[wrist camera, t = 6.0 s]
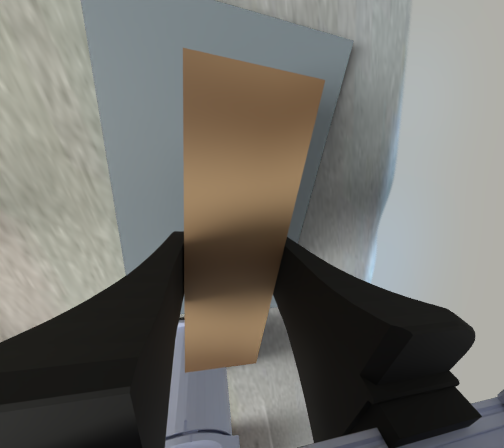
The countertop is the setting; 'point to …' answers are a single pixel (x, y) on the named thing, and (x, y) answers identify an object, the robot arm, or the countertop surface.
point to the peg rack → (171, 99)
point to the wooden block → (238, 197)
